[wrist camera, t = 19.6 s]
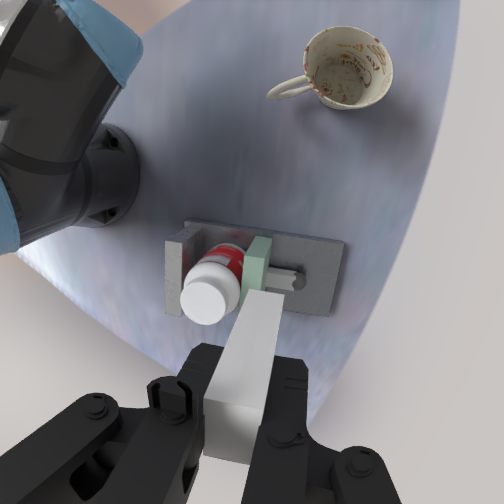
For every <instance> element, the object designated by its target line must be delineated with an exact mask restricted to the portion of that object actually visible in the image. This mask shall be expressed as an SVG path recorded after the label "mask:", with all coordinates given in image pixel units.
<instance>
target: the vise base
mask: <svg viewBox="0 0 504 504" xmlns="http://www.w3.org/2000/svg"><path fill="white" fill-rule="evenodd" d="M255 236H262V237H268V238H272V245H271V252H270V260H269V267H271V268H277V269H284V270H290V271H297V272H299V273H302V274H304V275H305V277H306V280H307V283H306V286H305V287H304V288H303V289H302V290H299V291H296V290H294V291H291V290H285V289H278V288H272V287H266V289H265V292H271V293H278V294H284V301H283V307H282V310H286V311H292V312H299V313H306V314H312V315H319V316H326V317H328V316H329V312H330V307H331V303H332V299H333V295H334V290H335V286H336V282H337V277H338V272H339V268H340V263H341V258H342V253H343V248H344V243H343V241H338V240H332V239H325V238H319V237H313V236H306V235H300V234H293V233H287V232H280V231H273V230H266V229H260V228H253V227H246V226H239V225H232V224H224V223H217V222H210V221H203V220H195V219H187V220H185V221H184V228H183V229H182V230H180V231H179V232H177V233H176V234H174V235H173V236H171V237H170V238H168V239H167V240H165V314H169V315H174V316H178V317H181V316H182V315H183V314H184V311H183V309H182V307H181V303H180V297H181V293H182V291H183V289H184V281H185V278H186V276H187V274H188V273H189V271H190V270H191V269H192V268H193V267H194V266H195V265H196V264H197V263H198V262H199V261H200V260H201V259H202V257H203V256H204V255H205V254H206V253H207V252H208V251H209V250H210V249H211V248H213V247H214V246H216V245H218V244H222V243H230V244H234V245H237V246H239V247H240V248H242V249H243V250H244V251H245V252H247V250H248V248H249V247H250V245H251V243H252V242H253V240H254V238H255ZM238 303H240V300H239V302H238Z"/></svg>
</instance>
